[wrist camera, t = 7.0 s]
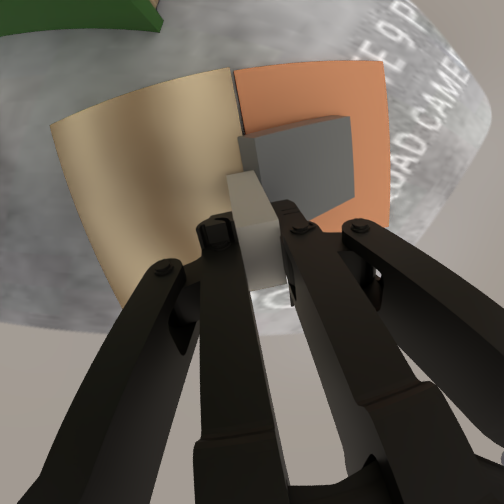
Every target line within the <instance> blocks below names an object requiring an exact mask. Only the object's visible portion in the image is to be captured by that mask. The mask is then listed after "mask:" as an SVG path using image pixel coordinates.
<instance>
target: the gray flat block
mask: <svg viewBox="0 0 504 504" xmlns="http://www.w3.org/2000/svg"><path fill="white" fill-rule="evenodd" d="M237 139H238V144H239V149H240V155H241V160H242V165H243V171H244V172H246V171H251V170H254V172H255V174H256V176H257V178H258V180H259V182H260V184H261V186H262V188H263V190H264V192H265V194H266V195H267V197H268V199H269V201H270V202H275V201H280V200H285V199H288V200H290V201H292V202H294V203H295V204H296V205H297V207H298V208H299V210H300V212H301V213H302V214H303V216H304V217H305V218H306V220H307V221H310V220H312V219H313V218H315V217H317V216H319V215H321V214H323V213H325V212H327V211H329V210H331V209H333V208H335V207H337V206H339V205H341V204H343V203H344V202H346V201H348V200H350V199H352V198H354V197H355V187H354V164H353V147H352V133H351V121H350V116H339V115H330V116H324V117H319V118H314V119H309V120H305V121H300V122H295V123H291V124H286V125H282V126H278V127H274V128H269V129H265V130H261V131H258V132H254V133H250V134H246V135H243V136H239V137H237Z"/></svg>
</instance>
